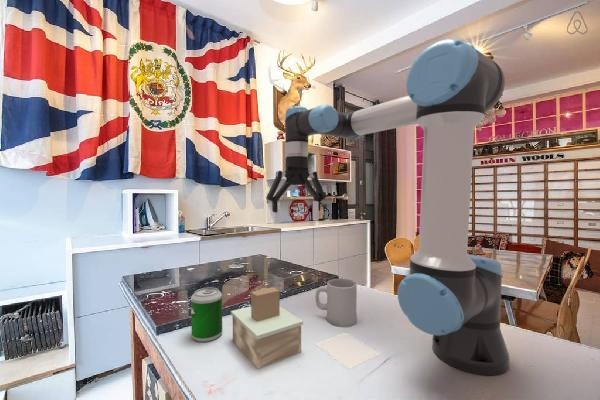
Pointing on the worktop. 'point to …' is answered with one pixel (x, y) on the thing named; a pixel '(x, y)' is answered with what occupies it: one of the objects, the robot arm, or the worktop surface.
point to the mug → (339, 302)
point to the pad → (347, 350)
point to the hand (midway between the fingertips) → (297, 221)
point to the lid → (265, 314)
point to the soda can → (206, 314)
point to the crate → (267, 344)
